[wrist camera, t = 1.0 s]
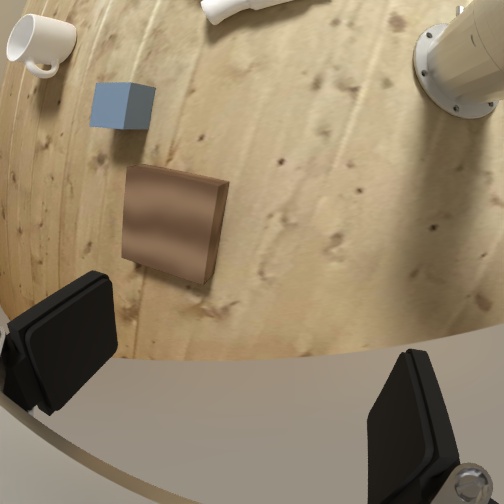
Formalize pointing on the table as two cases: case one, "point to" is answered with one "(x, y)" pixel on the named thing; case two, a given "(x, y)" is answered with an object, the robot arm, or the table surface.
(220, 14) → the binoculars
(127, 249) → the walnut base
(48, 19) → the mug
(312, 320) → the table surface
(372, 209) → the table surface
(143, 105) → the slate cube
